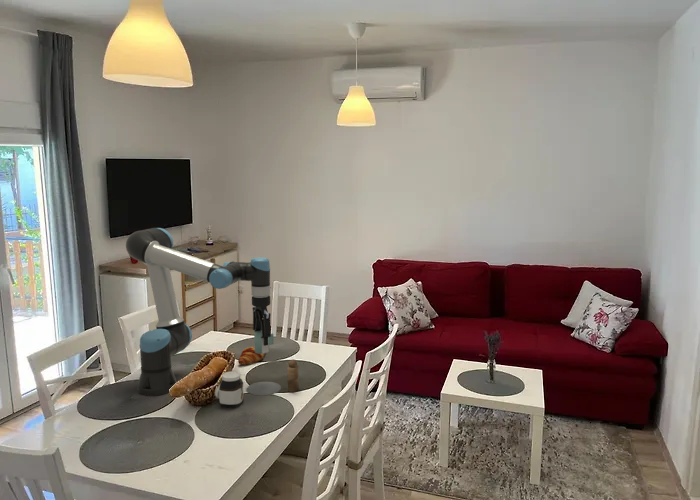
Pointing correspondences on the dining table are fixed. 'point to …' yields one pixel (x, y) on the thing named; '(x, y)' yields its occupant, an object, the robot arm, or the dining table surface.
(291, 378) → the salt mill
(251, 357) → the croissant
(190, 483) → the dining table surface
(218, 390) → the spread jar
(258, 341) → the mug
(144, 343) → the robot arm
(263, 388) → the grey flat disc
